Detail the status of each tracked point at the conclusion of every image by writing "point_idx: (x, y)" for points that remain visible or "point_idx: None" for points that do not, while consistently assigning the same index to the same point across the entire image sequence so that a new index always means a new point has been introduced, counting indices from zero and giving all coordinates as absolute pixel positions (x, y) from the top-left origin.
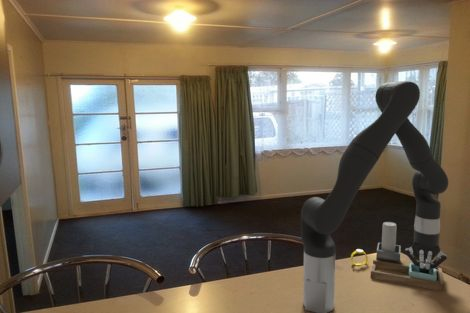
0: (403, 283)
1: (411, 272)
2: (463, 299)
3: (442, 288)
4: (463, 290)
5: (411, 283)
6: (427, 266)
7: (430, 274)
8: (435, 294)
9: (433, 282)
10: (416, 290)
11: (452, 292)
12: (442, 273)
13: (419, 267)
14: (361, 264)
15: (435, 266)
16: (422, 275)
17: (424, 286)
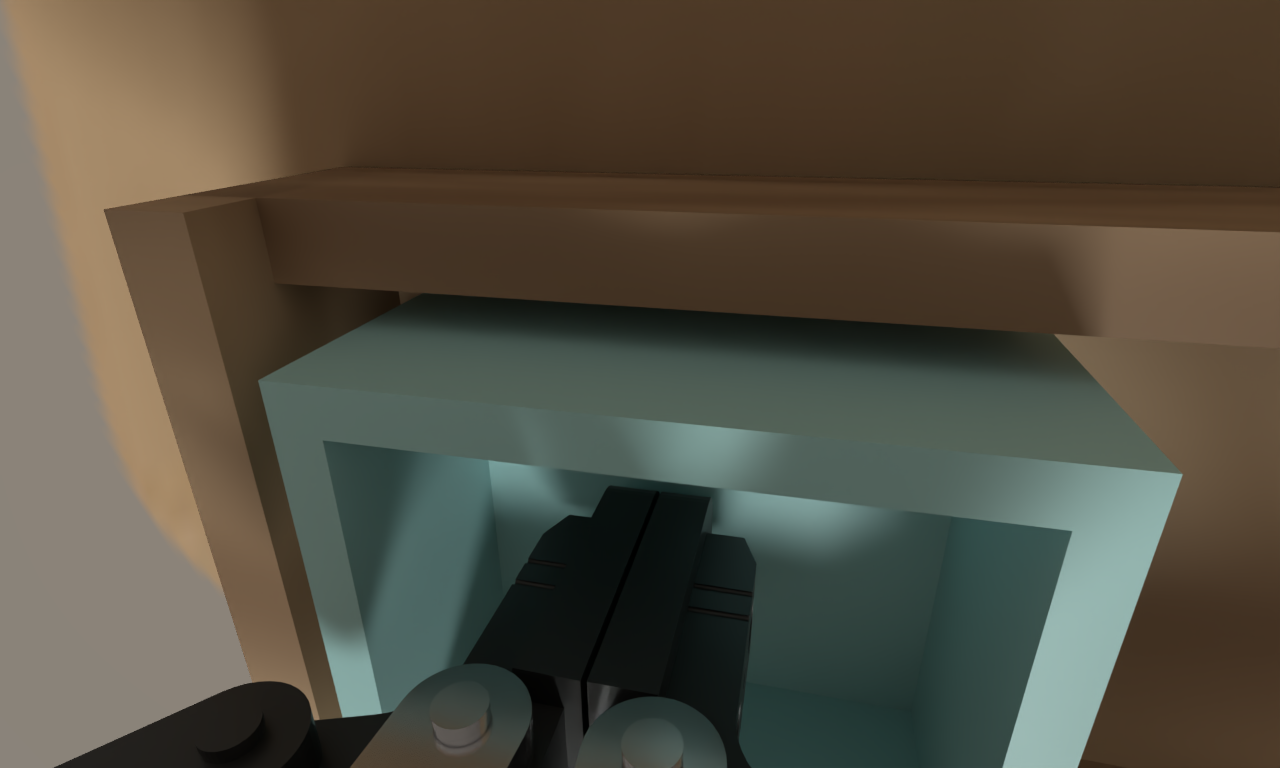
0: (1225, 197)
1: (1079, 455)
2: (39, 49)
3: (296, 183)
4: (119, 388)
5: (1002, 199)
6: (440, 762)
7: (427, 447)
8: (465, 22)
9: (410, 205)
10: (873, 34)
11: None
12: (236, 631)
13: (738, 753)
14: None
15: (154, 751)
16: (676, 393)
17: (668, 182)
